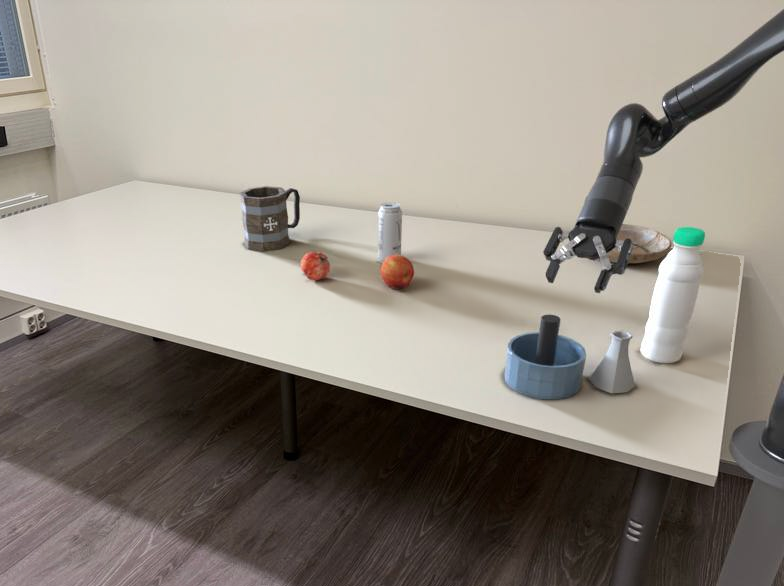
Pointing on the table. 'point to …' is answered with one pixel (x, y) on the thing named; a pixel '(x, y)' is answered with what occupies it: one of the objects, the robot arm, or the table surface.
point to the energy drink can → (389, 230)
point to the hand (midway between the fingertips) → (572, 286)
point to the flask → (615, 366)
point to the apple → (397, 271)
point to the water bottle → (674, 298)
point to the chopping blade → (547, 340)
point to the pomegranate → (315, 265)
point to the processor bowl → (544, 368)
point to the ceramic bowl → (641, 244)
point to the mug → (267, 217)
